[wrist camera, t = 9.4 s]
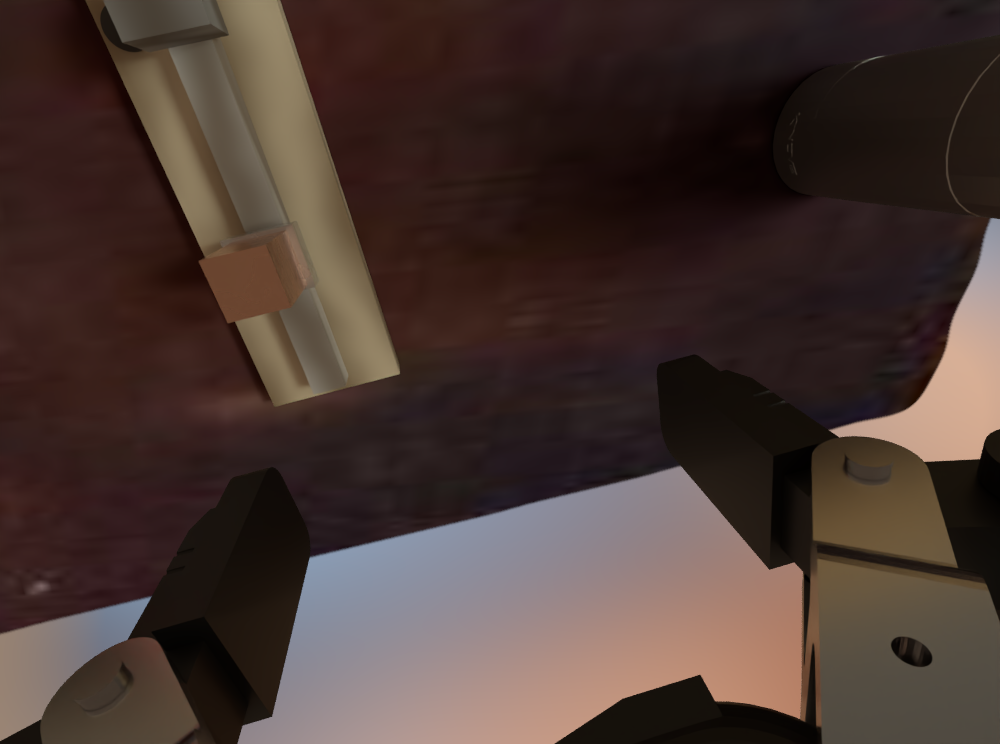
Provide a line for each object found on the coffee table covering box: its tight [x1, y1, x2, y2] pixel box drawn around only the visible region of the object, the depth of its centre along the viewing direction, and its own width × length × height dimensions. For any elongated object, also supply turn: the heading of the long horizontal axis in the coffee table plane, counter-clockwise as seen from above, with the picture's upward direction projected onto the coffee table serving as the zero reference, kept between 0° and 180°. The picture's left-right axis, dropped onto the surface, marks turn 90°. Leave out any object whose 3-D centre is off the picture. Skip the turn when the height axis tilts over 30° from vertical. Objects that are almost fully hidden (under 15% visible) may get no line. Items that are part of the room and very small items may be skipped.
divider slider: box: [199, 221, 319, 323], centre depth 31 cm, size 4×4×9 cm
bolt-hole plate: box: [85, 0, 400, 407], centre depth 32 cm, size 10×30×6 cm, turn 12°
